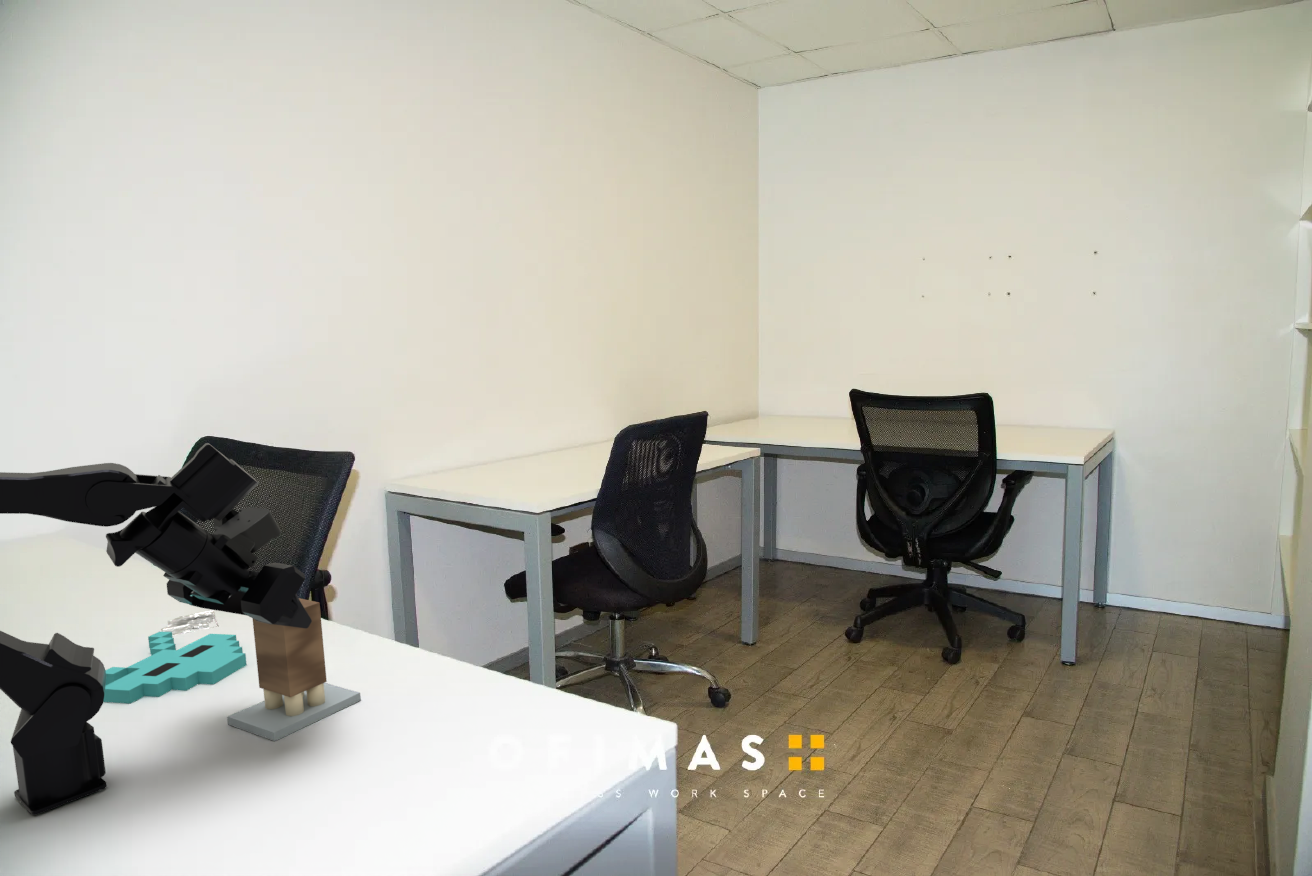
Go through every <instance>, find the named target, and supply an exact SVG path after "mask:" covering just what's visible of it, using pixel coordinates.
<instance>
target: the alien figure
mask: <svg viewBox="0 0 1312 876" xmlns="http://www.w3.org/2000/svg"><path fill="white" fill-rule="evenodd" d="M147 638H148V639H147V640H148V647H149V654H150V655H149V656H147V657H145V658H143V659H142V660H141V659H140V660H139V661H137V662H135V663H133V664H131V665H128V666H126V667H124V666H123V667H121V666H112V667H110V668H107V669H105V671H106V685H105V695H104V701H103V703H112V702H113V704H114V703H115V704H128V705H129V704H133V703H135V702H136V701H139V700H141V699H142V698H144V697H148V698H149V697H150V698H160V697H162V696H164V695H166V694H167V693H169V692H171V691H182V692H183V691H184V692H185V691H189V690H190V688H191V689H193V688H194V687H196V686H197V684H198V685H210V686H211V685H215V684H218V682H220V681H222V680H224V679H226V678H227V677H229V676H230V675H232V674H234V673H235V672H237V671H239V670H241V669H242V668H245V667H246V666H247V656H246V653H244V650H243V646H240V640H237V634H228V633H227V634H226V633H225V634H224V633H208V634H207V635H205V636H203V637H201V638H199V639H196V640H195V641H193V642H191V643H188V644H187V645H184V646H183V647H181V648H179V649H177V648H176V643H175V639H174V637H173V636H172V632H161V631H158V632H155V633H153V634H151V635H149V636H148V637H147Z"/></svg>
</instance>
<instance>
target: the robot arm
mask: <svg viewBox="0 0 1312 876" xmlns="http://www.w3.org/2000/svg"><path fill="white" fill-rule="evenodd" d="M259 483H260V482H258V481H257V479H256V478H254V477H253V476H252V475H251V474H250V473H249V472H248V471H246V470H245V469H244V468H243V467H241V465H240V464H238V463H237V462H236V461H235V460H233V458H228V457H227V456H225V455H224V454H223V453H222V452H220V451H219V450H218V449H216V448H215V447H214V446H213V445H211V444H210V443H209V442H205V443H204V444H203V445H202V446H200V447H199V449H198V450H196V452H195V454H194V456H193V457H191V459H189V460H188V461H187V462H186V463H185V464H184V465H183V466H182V467H181V468H180V469H179V470H178V471H177V472H176V473H175V474H174V475H173V476H171V477H170V476H163V475H160V474H158V475H153V474H152V475H151V474H150V475H149V474H139V473H138V474H137V473H135V472H133V470H132V469H130V468H129V467H127V466H125V465H123V464H120V463H116V462H115V463H114V462H104V463H95V464H87V465H78V466H71V467H64V468H59V469H55V470H47V471H40V472H5V471H4V472H2V471H1V472H0V514H7V515H8V514H12V515H13V514H14V515H15V514H20V515H22V514H25V515H26V514H28V515H33V516H35V515H36V516H41V517H46V518H50V519H55V520H59V521H62V522H63V521H64V522H69V523H76V524H83V525H89V526H97V527H114V526H118V525H121V524H123V523H125V522H126V521H128V520H129V519H130V518H131V517H133V516H134V515H135V513H136V512H138V511H141V510H147V509H150V510H148V511H141V512H140V513H138V515H136V516H135V517H134V518H133V519H132V520H130V522H129V523H128V524H127V525H126V526H125V527H123V528H122V529H120V530H118V531H115V532H108V533H105V538H106V541H107V543H106V544H107V546H106V550H105V551H106V554H107V555H108V557H109V558H110V560H111V561H112V563H113V564H114V566H115V567H122V566H123V565H125V563H126V562H127V561H128V560H129V559H130V558H131V557H133V555H135V554H136V555H138V556H140V557H141V558H143V559H144V560H146V561H147V562H149V563H150V564H152V565H153V566H155V567H157V568H158V569H159V570H161V571H162V572H164V574H163V577H164V578H166V579H168V581H167V582H166V592H167V595H168V596H169V597H171V598H173V599H174V600H176V601H177V602H178V603H183V604H187V605H190V606H191V607H192V606H193V607H195V608H196V607H197V608H199V609H200V608H201V609H206V610H210V611H212V610H214V611H218V612H224V613H230V614H236V615H243V616H248V617H249V618H252V620H253V619H256V621H258V622H263V623H267V624H272V625H273V624H274V625H282V626H291V627H298V628H305V629H307V628H308V627H309V626H310V624H311V622H312V620H311V618H310V616H309V615H308V613H307V611H306V610H305V608H304V607H303V605H302V603H301V602H300V600H299V598H300V597H299V596H298V594H297V593H298V591H299V589H300V588H301V586H302V585H303V584H304V582H305V580H306V574H305V573H304V572H302V570H300V569H298V568H297V567H296V566H294V565H291V564H285V563H280V562H272V563H267V564H265V565H263V566H262V567H261V569H260V571H254V570H249V568H252V567H253V566H254V565H255V563H257V561H258V559H259V557H258V556H257V555H255V553H256V552H258V551H259V550H260V549H262V548H263V547H264V546H265V545H267V544H268V543H269V542H270V541H271V540H273V539H277V538H278V537H279V536H280V535H282V534H281V533H282V530H281V528H280V526H279V525H278V523H277V521H276V519H275V517H274V516H273V513H271V511H270V509H268V508H262V507H261V508H260V507H254V506H253V507H252V506H251V507H246V508H243V507H241V508H239V509H238V510H235V509H234V508H235V507H236V506H237V505H239V503H240V502H241V501H242V500H243V499H244V498H245V497H247V495H249V494H250V493H251V492H252V490H254V489H255V488H256V487H257V486H258V485H259ZM181 509H185V510H186V511H187V512H188V513H190V514H191V515H192V516H194V517H195V518H196V519H197V520H199V521H201V522H203V523H206V522H207V521H209V522H211V521H212V520H213V530H214V532H213V533H210V532H208V530H206V529H204V528H203V527H202V526H200V525H199V524H198V523H196V522H195V521H193V520H192V519H191V518H189V517H188V516H187V515H185V514H183V513H182V511H180V510H181ZM94 654H95V648H94V647H90V646H89V647H88V646H83V645H79V644H77V643H75V642H73V641H72V640H70V639H69V638H68V637H66V636H64V635H62V634H61V633H59V632H55V633H54V634H53V636H52V638H51V639H50V641H49V643H42V642H41V643H40V642H31V641H26V640H22V639H20V638H17V637H15V636H13V635H11V634H9V633H7V632H4V631H2V630H0V691H2V692H3V693H4V694H5V696H7V697H8V698H9V700H11V701H12V702H13V703H14V704H15V705H16V706H17V707H18V708H20V712H19V715H18V718H17V721H16V724H15V727H14V729H13V733H12V736H11V739H10V744H11V745H12V750H13V758H14V763H15V764H14V765H15V771H16V779H17V788H18V789H16V790H14V798H15V799H17V800H18V802H19V803H20V804H21V805H22V806H23V807H24V808H25V810H27V812H29V813H30V815H31V816H36V815H39V814H42V813H45V812H47V811H50V810H52V809H55V808H58V807H60V806H63V805H66V804H68V803H70V802H74V801H76V800H79V799H81V798H84V797H86V796H89V795H91V794H95V793H97V792H99V791H102V790H104V789H106V788H107V787H108V784H107V781H106V780H105V779H104V778H103V777H104V776H106V773H107V772H106V764H105V758H104V749H103V748H104V747H103V740H102V738H101V737H100V736H98V735H97V734H95V733H96V732H95V728H94V727H95V726H93V725H92V724H90V723H89V722H88V721H90V720H92V719H93V718H94V717H95V716H96V715H97V713H99V712H100V710H101V708H102V706H103V704H104V702H103V701H104V695H105V685H106V671H105V670H106V667H105V665H104V663H103V662H102V661H101V660H100V658H98V657H97V656H95V655H94Z"/></svg>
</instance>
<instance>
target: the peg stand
mask: <svg viewBox="0 0 1312 876" xmlns="http://www.w3.org/2000/svg"><path fill="white" fill-rule="evenodd" d="M262 690H263V699H264V700H263V701H260V702H258V703H256V704H253V705H251V706H248V707H246V708H244V709H241V710H238V711H237V712H234V713H232V714H230V715H227V720H226V721H227V725H229V726H231V727H234V728H237V729H239V730H242V731H245V732H248V733H251V734H254V735H257V736H259V737H262V738H265V739H268V740H270V741H274V742H277V741H278V740H280V739H283V738H285V737H287V736H289V735H291V734H293V733H295V732H297V731H299V730H301V729H304V728H306V727H307V726H309V725H312V724H314V723H316V722H318V721H320V720H322V719H325V718H327V717H329V716H331V715H333V714H335V713H337V712H339V711H341V710H343V709H346V708H347V707H349V706H352V705H354V704H356V703H358V702H360V701H362V699H361V698H362V697H361V692H359V691H355V690H352V689H348V688H345V687H342V686H337V685H334V684H330V683H327V682H325V683H323V684H320V685H318V686H316V687H313V688H311V689H309V690H306V691H304V692H302V693H299V694H297V695H295V696H292V697H288V696H284V695H281V694H278V693H275V692H272V691H268V690H265V689H262ZM355 702H356V703H355Z"/></svg>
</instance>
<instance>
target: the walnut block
mask: <svg viewBox="0 0 1312 876" xmlns="http://www.w3.org/2000/svg"><path fill="white" fill-rule="evenodd" d="M298 598H299V600H300V602H301V603H302V605H303V607H304V608H305V610H306V611H307V613H308V615H309V616H310V618H311V620H312V622H311V624H310V626H309V627H308V628H307V629H305V628H298V627H291V626H282V625H274V624H273V625H272V624H267V623H263V622H258V621H256V619H253V618H252V627H253V628H252V629H253V636H254V645H255V647H254V648H255V655H256V656H255V658H256V665H257V677H258V678H257V679H258V687H259V689H262V690H263V689H265V690H268V691H272V692H275V693H278V694H281V695H284V696H288V697H292V696H295V695H297V694H299V693H302V692H304V691H306V690H309V689H311V688H313V687H316V686H318V685H320V684H323V683H327V682H328V681H327V680H328V679H327V671H326V670H327V669H326V662H325V661H326V660H325V649H324V648H325V647H324V638H323V627H322V625H323V624H322V617H321V616H322V615H321V614H322V613H321V606H320V604H321V603H320V602H318V601H314V600H309V599H304V598H300V597H298Z"/></svg>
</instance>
